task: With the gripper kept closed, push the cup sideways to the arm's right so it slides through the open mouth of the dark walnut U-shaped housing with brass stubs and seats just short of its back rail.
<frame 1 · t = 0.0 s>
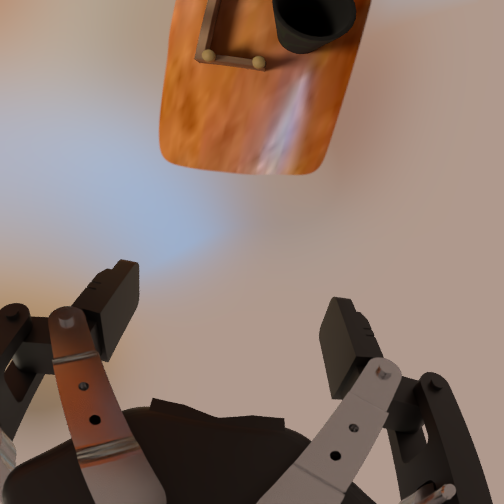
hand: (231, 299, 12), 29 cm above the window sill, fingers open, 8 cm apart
cup: (299, 35, 31), on the window sill
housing: (241, 24, 30), on the window sill
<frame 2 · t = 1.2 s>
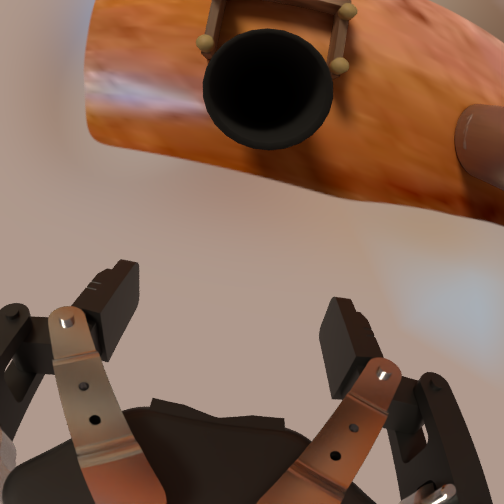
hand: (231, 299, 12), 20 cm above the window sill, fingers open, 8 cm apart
cup: (264, 98, 27), on the window sill
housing: (276, 30, 24), on the window sill
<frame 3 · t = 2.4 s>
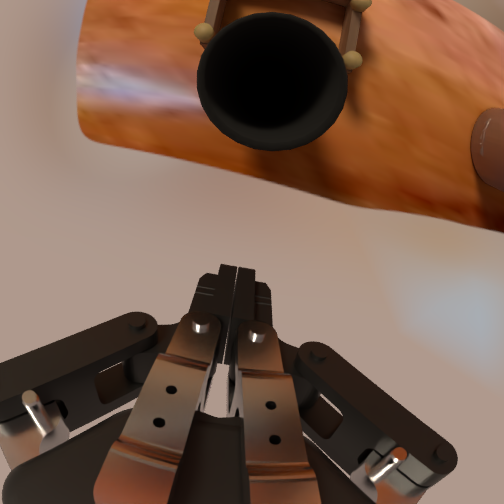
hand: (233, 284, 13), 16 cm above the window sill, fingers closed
cup: (268, 94, 24), on the window sill
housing: (282, 21, 21), on the window sill
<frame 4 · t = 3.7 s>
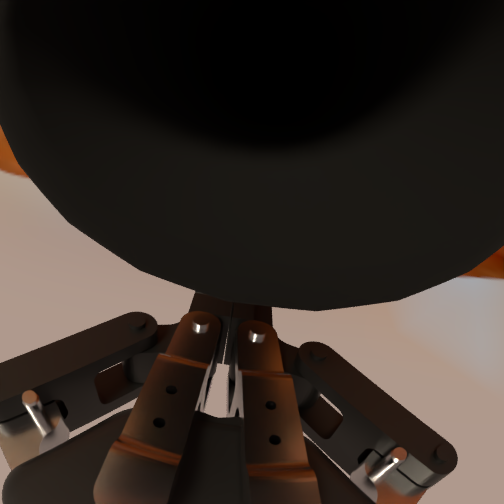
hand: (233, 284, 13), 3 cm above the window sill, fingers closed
cup: (273, 75, 12), on the window sill
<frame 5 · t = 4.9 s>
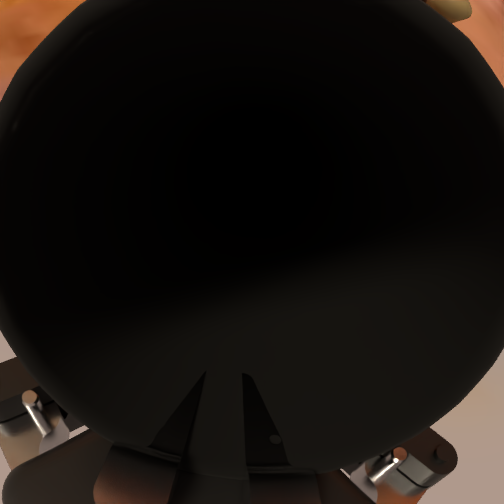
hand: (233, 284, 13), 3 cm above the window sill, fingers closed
cup: (258, 161, 14), on the window sill, touching gripper
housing: (290, 27, 11), on the window sill
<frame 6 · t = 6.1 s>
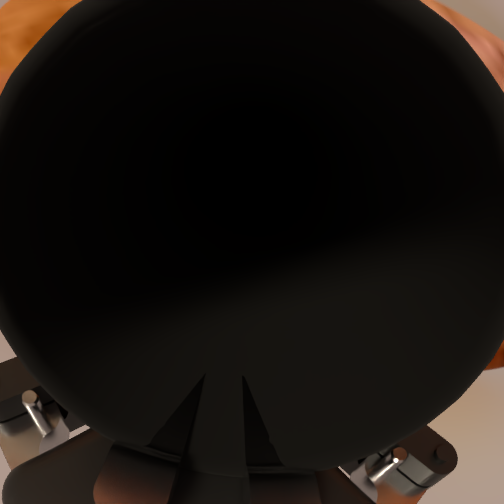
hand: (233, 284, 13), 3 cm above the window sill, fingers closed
cup: (257, 160, 14), on the window sill, touching gripper
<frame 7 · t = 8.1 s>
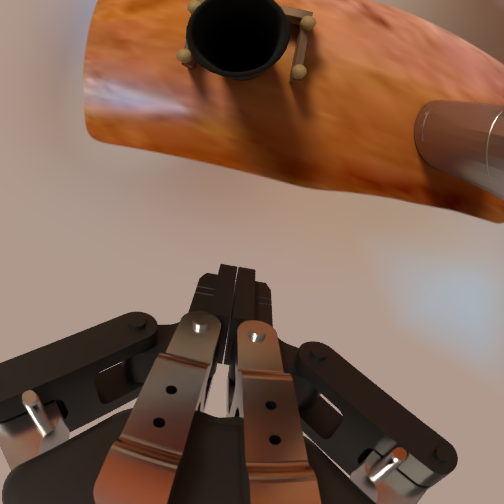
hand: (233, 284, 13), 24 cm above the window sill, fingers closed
cup: (243, 57, 29), on the window sill
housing: (247, 41, 28), on the window sill
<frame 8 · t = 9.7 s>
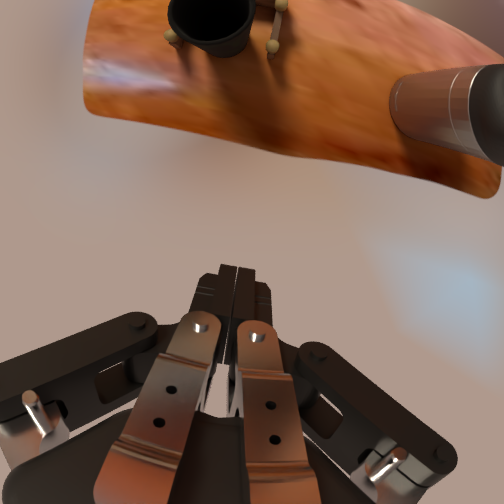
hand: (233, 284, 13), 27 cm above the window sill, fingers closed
cup: (225, 38, 30), on the window sill
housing: (229, 23, 29), on the window sill
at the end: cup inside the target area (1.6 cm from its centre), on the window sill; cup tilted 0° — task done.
